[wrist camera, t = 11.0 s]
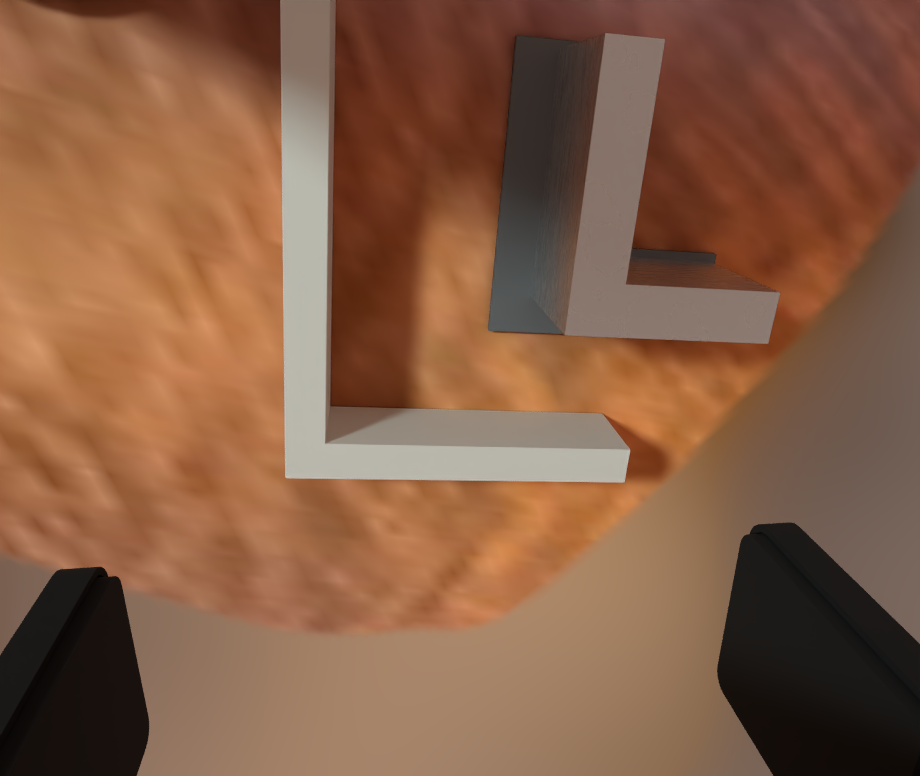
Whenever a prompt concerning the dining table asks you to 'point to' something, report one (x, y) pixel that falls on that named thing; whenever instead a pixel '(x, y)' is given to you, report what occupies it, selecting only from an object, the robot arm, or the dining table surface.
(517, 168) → the pose mat
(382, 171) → the dining table surface
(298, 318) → the light grey l-shaped block
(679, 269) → the angle bracket
